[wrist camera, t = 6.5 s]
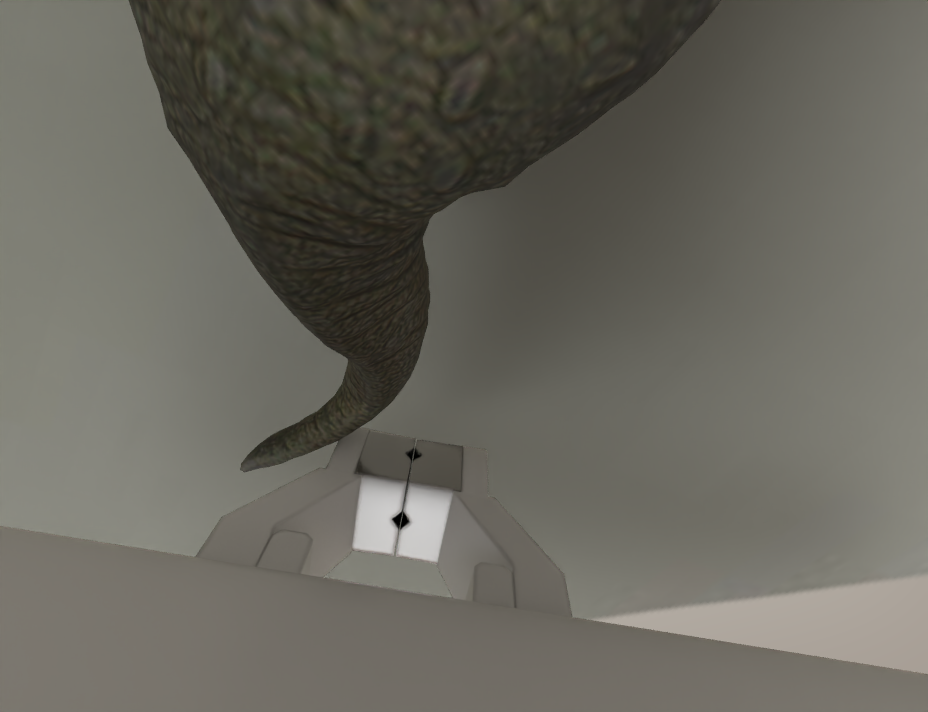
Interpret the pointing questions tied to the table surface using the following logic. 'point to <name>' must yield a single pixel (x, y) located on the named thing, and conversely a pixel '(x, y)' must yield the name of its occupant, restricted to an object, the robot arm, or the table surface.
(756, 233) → the table surface
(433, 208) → the toy dinosaur
